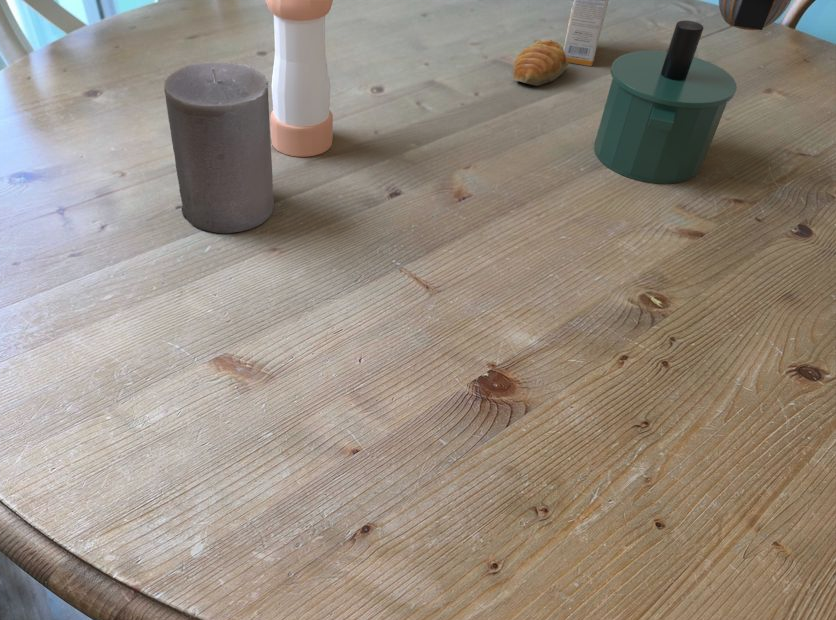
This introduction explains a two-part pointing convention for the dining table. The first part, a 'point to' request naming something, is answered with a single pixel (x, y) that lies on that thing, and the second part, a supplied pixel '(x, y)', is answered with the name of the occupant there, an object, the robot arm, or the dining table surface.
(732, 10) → the vase
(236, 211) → the pillar candle
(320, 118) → the salt shaker
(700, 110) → the pot
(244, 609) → the dining table surface
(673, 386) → the dining table surface
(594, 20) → the supplement box
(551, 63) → the pastry
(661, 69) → the lid
